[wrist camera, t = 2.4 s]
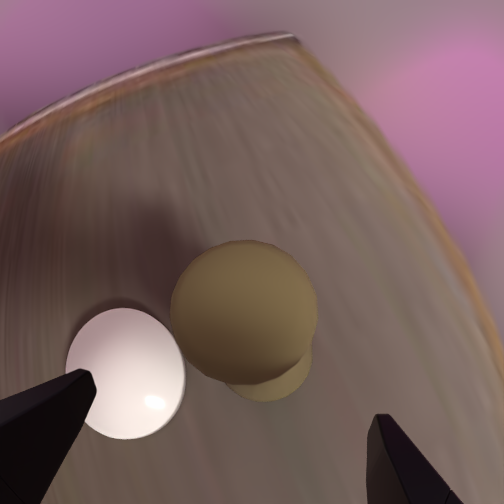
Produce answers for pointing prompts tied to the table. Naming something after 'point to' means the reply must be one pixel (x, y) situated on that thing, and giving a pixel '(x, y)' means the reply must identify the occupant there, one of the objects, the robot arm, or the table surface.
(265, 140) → the table surface
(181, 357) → the coaster
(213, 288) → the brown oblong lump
